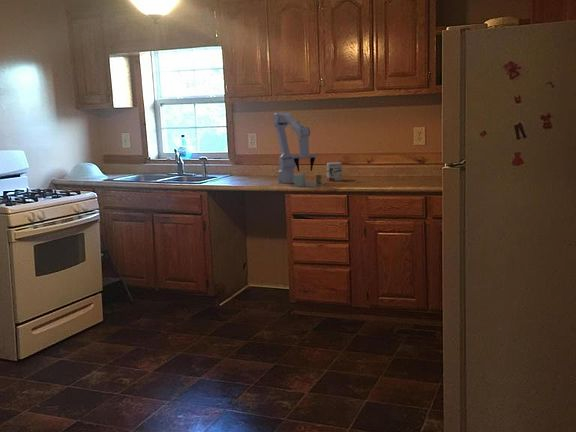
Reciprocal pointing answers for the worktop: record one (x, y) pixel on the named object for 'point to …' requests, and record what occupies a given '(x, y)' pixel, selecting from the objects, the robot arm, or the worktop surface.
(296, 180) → the pale green cube
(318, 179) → the post
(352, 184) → the worktop surface
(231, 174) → the worktop surface
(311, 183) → the board
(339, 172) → the ink box
